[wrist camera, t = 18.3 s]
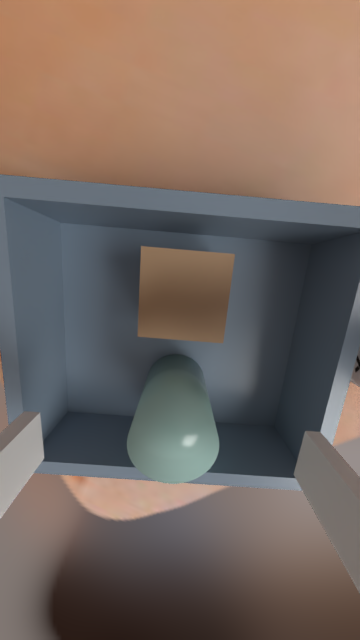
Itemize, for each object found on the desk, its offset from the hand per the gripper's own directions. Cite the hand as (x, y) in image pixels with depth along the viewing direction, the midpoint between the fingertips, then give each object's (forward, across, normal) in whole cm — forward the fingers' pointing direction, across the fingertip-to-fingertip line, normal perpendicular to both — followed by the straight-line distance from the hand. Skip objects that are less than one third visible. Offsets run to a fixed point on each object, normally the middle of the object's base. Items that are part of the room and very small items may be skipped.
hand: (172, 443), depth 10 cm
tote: (+9, 0, +3) cm, 9 cm away
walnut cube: (+8, 0, +7) cm, 10 cm away
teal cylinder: (+8, 0, -1) cm, 8 cm away
